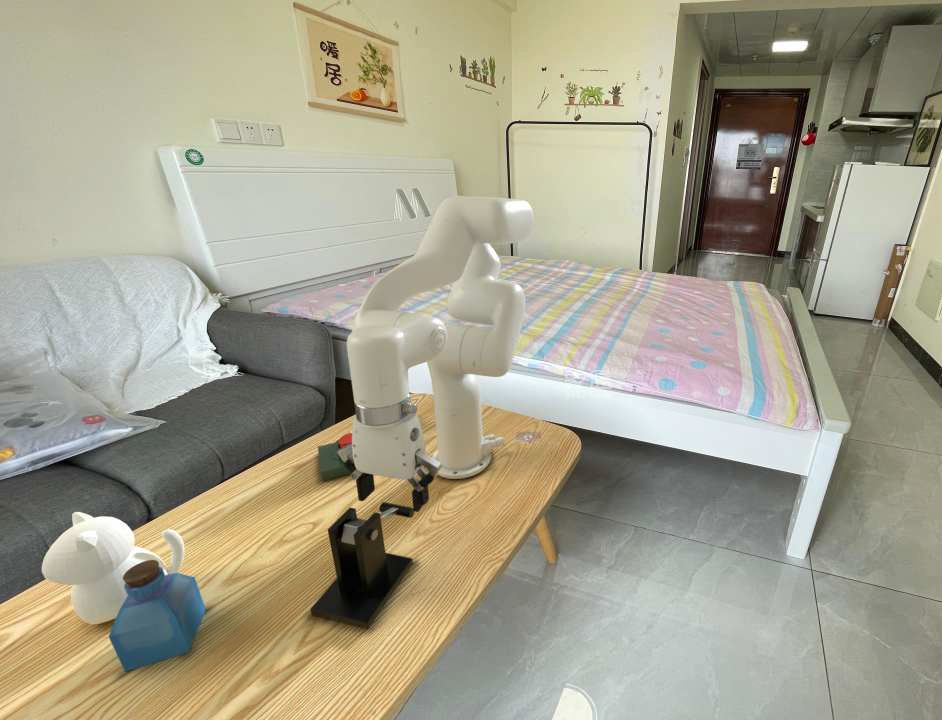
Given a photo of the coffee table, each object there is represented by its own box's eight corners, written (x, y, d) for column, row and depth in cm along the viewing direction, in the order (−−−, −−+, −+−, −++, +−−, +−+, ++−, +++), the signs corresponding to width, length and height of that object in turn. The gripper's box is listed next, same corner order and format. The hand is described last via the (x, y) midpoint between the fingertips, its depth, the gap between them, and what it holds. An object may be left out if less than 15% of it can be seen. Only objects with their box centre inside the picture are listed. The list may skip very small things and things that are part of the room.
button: (359, 437, 95) (358, 430, 95) (362, 447, 92) (361, 440, 92) (339, 442, 93) (337, 435, 93) (340, 452, 90) (339, 445, 90)
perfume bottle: (124, 671, 53) (92, 600, 49) (148, 625, 59) (120, 558, 55) (188, 652, 56) (162, 583, 52) (205, 610, 61) (183, 544, 57)
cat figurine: (68, 608, 61) (26, 523, 55) (186, 553, 70) (159, 476, 65) (72, 652, 55) (27, 563, 50) (199, 586, 64) (172, 505, 59)
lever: (383, 512, 73) (386, 498, 73) (413, 518, 72) (415, 504, 72) (330, 539, 61) (333, 522, 61) (365, 547, 60) (368, 529, 60)
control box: (379, 439, 101) (377, 424, 100) (386, 463, 93) (384, 447, 92) (319, 455, 95) (316, 439, 93) (322, 481, 87) (319, 465, 86)
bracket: (363, 553, 71) (353, 489, 67) (413, 563, 70) (405, 500, 66) (311, 615, 61) (295, 545, 57) (368, 629, 60) (356, 559, 55)
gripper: (449, 403, 67) (454, 494, 73) (350, 389, 70) (361, 477, 75) (422, 428, 60) (430, 527, 66) (313, 411, 63) (329, 507, 68)
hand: (393, 500), depth 70 cm, fingers open, 9 cm apart
